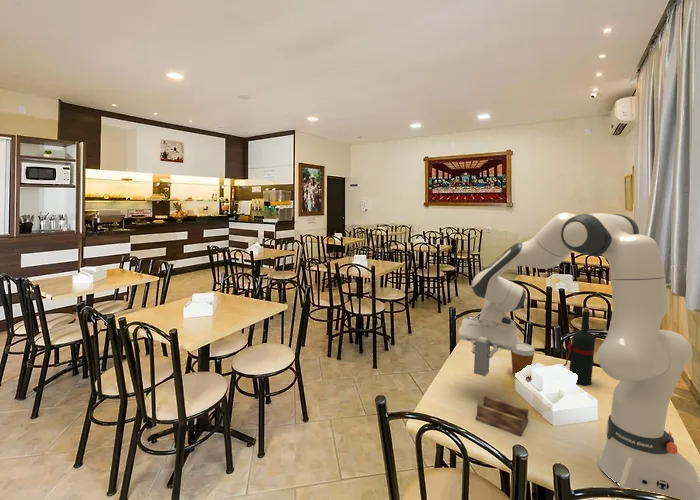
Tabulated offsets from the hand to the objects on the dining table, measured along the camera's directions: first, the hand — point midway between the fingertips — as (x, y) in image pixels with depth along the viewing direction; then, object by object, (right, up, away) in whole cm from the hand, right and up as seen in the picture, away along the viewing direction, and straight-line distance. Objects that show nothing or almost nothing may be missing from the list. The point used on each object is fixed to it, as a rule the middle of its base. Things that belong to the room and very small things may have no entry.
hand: (481, 355), depth 131 cm
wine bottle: (+44, -15, +17) cm, 50 cm away
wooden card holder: (+3, -19, -9) cm, 21 cm away
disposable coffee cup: (+24, -15, +23) cm, 36 cm away
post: (0, -7, +1) cm, 7 cm away
